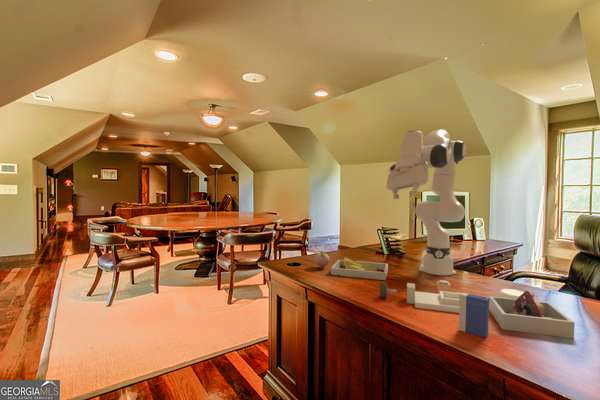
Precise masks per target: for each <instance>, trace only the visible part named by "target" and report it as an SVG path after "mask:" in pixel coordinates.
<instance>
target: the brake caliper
mask: <svg viewBox="0 0 600 400" xmlns="http://www.w3.org/2000/svg"><path fill="white" fill-rule="evenodd" d="M523 292H524V293H523V294H522V295H521V296H520V297H519V298H517V299H516V301H515V304H514V305H513V306H512V309H510V311H511V312H509V314H516V315H524V316H533V317H541V318H549V317H544V313H545V310H544V307H543V306H542V304H540V303H539V302H536V301H537V300H536V299H535V294H534V293H530V291H529V290H525V291H523ZM523 296H524V297H525V299H524V297H523ZM521 302H522V303H524V305H523V307H522V306H521ZM550 319H552V318H550Z"/></svg>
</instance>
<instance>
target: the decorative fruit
mask: <svg viewBox="0 0 600 400" xmlns="http://www.w3.org/2000/svg"><path fill="white" fill-rule="evenodd" d="M313 260H314V263H315V265H317V266H319V268H321V269H324V268H325V267H327V266H328V265H329V263H330V256H329V255H328V254H327V253H326V252H324V251H323V250H321V251H319V252H318V253H316V254H315V255H314V259H313Z"/></svg>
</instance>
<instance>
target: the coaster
mask: <svg viewBox="0 0 600 400" xmlns="http://www.w3.org/2000/svg"><path fill="white" fill-rule="evenodd" d="M524 292H525V291H522V290H520V289H519V290H518V289H514V288H502V289H500V290H499V297H502V298H511V299H517V298H519V297H520V296H521V295H522V294H523V293H524ZM523 297H524V296H523ZM524 299H525V297H524Z"/></svg>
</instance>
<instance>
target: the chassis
mask: <svg viewBox="0 0 600 400" xmlns="http://www.w3.org/2000/svg"><path fill="white" fill-rule="evenodd" d="M462 293H463V292H454V291H451V292H445V291H439V294H437V292H436V293H434V292H427V291H426V292H425V291H417V290H416V284H415V283H413V282H406V304H411V305H414V308H416V309H417V308H418V309H424V310H430V311H431V310H432V311H433V310H434V311H442V312H447V313H458V314H459V306H460V305H459V301H460V294H462Z"/></svg>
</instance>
